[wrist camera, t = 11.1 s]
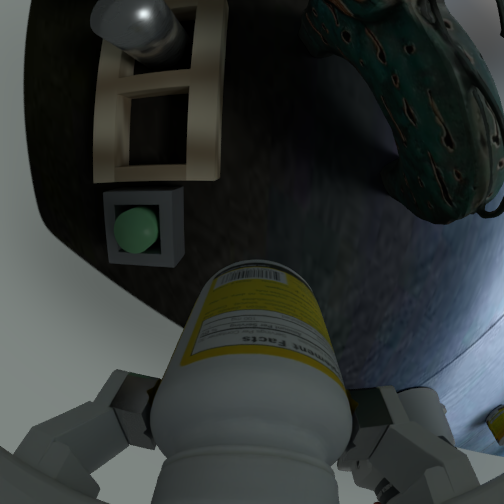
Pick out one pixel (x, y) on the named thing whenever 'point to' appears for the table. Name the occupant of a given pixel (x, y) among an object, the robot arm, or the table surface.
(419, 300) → the table surface
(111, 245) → the button box
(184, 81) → the rack
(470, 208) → the green curved lump
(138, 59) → the seated billet
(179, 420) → the supplement bottle
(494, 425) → the supplement bottle
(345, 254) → the table surface
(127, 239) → the button
